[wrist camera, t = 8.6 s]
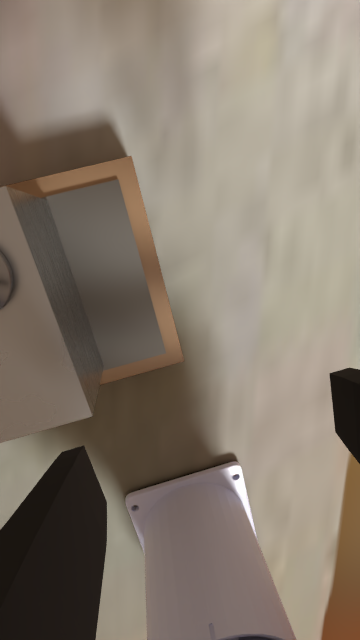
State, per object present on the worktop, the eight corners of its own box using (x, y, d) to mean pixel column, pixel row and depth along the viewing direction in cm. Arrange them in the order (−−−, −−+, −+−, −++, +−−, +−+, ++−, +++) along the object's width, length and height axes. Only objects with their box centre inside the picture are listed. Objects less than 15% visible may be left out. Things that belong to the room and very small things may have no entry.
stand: (178, 346, 19) (184, 362, 16) (-25, 403, 18) (-48, 428, 16) (131, 165, 16) (131, 154, 13) (-115, 224, 15) (-161, 223, 13)
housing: (104, 365, 16) (91, 422, 11) (24, 387, 15) (-23, 455, 11) (47, 200, 13) (-1, 183, 9) (-48, 222, 13) (-149, 218, 8)
